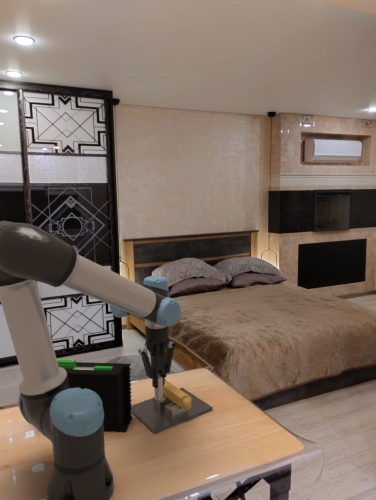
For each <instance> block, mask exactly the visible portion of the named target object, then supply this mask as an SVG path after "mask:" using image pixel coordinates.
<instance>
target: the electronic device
mask: <svg viewBox="0 0 376 500" xmlns="http://www.w3.org/2000/svg"><path fill="white" fill-rule="evenodd" d="M56 359H57V358H56ZM57 363H58V367H61V368H63V369H65V370H66V372H67V376H68V380H69V384H70V387H71V388H81V389H85V388H86V389H89V390H92V391H94V392H95V393H97V394H98V395H99V397H100V398H101V400H102V405H103V411H104V433H105V432H106V433H127V431H128V429H129V426H130V424H131V422H132V420H133V414H132V411H131V409H132V407H131V405H133V403H132V401H133V400H132V396H133V395H132V391H131V390H132V387H131V386H132V379H131V377H132V375H131V373H132V372H131V370H132V368H131V363H123V362H121V363H118V362H116V363H115V362H86V361H85V362H80V361H78V362H77V361H76V359H69V358H68V359H66V358H65V359H63V358H62V359H60V358H58V359H57Z"/></svg>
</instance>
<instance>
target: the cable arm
mask: <svg viewBox="0 0 376 500" xmlns="http://www.w3.org/2000/svg"><path fill="white" fill-rule="evenodd" d="M163 395H165V396H166V397H167V398H169V399H170V400H172V401H173V402H174V403H176V404H177V405H178V406H180V407H181V408H183V409H185V410H188V409H190V408H191V397H190V396H189V395H187V394H186V393H184V392H183V391H181V390H180V388H178V387H177V386H175V385H174V384H172V383H171V382H170V381H168V380H166V378H165V384H164V386H163Z"/></svg>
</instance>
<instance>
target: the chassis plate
mask: <svg viewBox="0 0 376 500" xmlns="http://www.w3.org/2000/svg"><path fill="white" fill-rule="evenodd" d="M179 389H180V390H181V391H183V392H184V393H186V394H187V395H189V396H190V397H191V408H190V409H188V410H185V409H183V408H181V407H180V406H178V405H177V404H176V403H174V402H173V401H172V400H170V399H169V398H167V397H166V396H165V395H163V397H161V398H158V397H157V396H155V395H154V396H153V397H152V398H149V399H146V400H143V401H141V402H137V403H134V404H132V405H131V407H132V409H131V411H132V414H131V415H132V416H134V417H135V418H136V419H138V421H140V422H141V423H142V424H143V425H144V426H146V428H148V429H149V430H150V431H151V432H152V433H153V434H158V433H160V432H163V431H165V430H168V429H170V428H172V427H175V426H178V425H179V424H182V423H185V422H187V421H189V420H192V419H194V418H197V417H200V416H202V415H204V414H206V413H209V412H211V411H213V410H214V409H213V406H211V405H210V404H208V403H207V402H205V401H204V400H202V399H201V398H200V397H197V396H196V395H195V394H193V393H191V392H190V391H188V390H187V389H186V388H184V387H181V388H179Z"/></svg>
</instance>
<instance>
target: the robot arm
mask: <svg viewBox="0 0 376 500" xmlns="http://www.w3.org/2000/svg"><path fill="white" fill-rule="evenodd" d="M37 282H38V283H43V284H46V285H48V286H51V287H54V288H59V287H62V286H64V287H67V288H68V289H70V290H74V291H75V292H78V293H80V294H83V295H86V296H88V297H90V298H93V299H95V300H97V301H100V302H103V303H105V304H107V305H109V309H110V311H111V314H113V316H114V317H115V318H126V317H128V316H131V317H135V318H139V319H141V320H144V324H145V327H144V329H145V331H144V333H145V334H144V335H145V343H144V347H143V348H142V349H138V351H137V352H138V354H139V355H140V356H141V359H142V364H143V367H144V371H145V376H146V377H148V378H149V379H152V381H151V383H152V387H153V388H154V397H155V396H157V397H158V398H161V397H163V386H164V384H165V379H166V377H167V374H170V372H171V368H172V361H173V356H174V351H175V349H176V346H177V343H175V342H174V341H172V340H171V339H170V338H169V337H170V327H173V326H174V325H175V324H177V323H178V321H179V319H180V316H181V314H182V313H181V310H182V309H181V306H180V303H179V302H178V300H176V299H173V298H171V297H170V296H169V291H170V290H169V281H168V278H167V277H165V276H163V275H150V276H147V277H144V278H143V283H142V284H143V285H141V284H139V283H137V282H135V281H133V280H131V279H128V278H126V277H125V276H122V275H121V274H119V273H118V272H115V271H113V270H111V269H109V268H106V267H105V266H103V265H100V264H99V263H96V262H95V261H92V260H91V259H89V258H86V257H84V256H82V255H80V254H79V253H78V250H77V248H75V246H72V245H70V244H68V243H66V242H65V241H63V240H61V239H60V238H58V237H56V236H54V235H53V234H51V233H49V232H47V231H46V230H44V229H42V228H40V227H39V226H36V225H33V224H30V223H25V222H12V221H9V220H1V221H0V303H1V307H2V310H3V314H4V317H5V321H6V325H7V327H8V331H9V334H10V339H11V343H12V346H13V348H14V352H15V356H16V359H17V362H18V365H19V369H20V373H21V376H22V380H21V381H20V383H19V386H18V390H19V396H18V400H17V401H18V402H17V403H18V404H17V405H18V409H19V411H20V413H21V416H22V417H23V419H24V420H25V421H26V422H28V424H30V425H31V426H32V427H34V428H35V429H37V431H39V432H40V433H41V434H42V435H43V436H44V437H46V439H48V440H49V441H50V442H51V444H52V456H53V467H52V471H51V475H50V478H49V482H48V484H47V485H48V486H47V500H109V499H110V497H111V496H112V494H113V491H114V489H115V488H114V487H115V483H114V474H113V471H112V469H111V467H110V464H109V462H108V460H107V457H106V445H105V432H104V411H103V405H102V400H101V398H100V397H99V395H98V394H97V393H95V392H94V391H92V390H89V389H86V388H85V389H81V388H71V387H70V384H69V380H68V376H67V372H66V370H65V369H63V368H61V367H58V363H57V356H56V355H57V354H56V352H55V349H54V344H53V340H52V337H51V332H50V329H49V326H48V321H47V318H46V314H45V310H44V306H43V302H42V299H41V294H40V291H39V288H38V287H39V286H38V283H37ZM148 352H149V353H148ZM149 357H150V358H149Z"/></svg>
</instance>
